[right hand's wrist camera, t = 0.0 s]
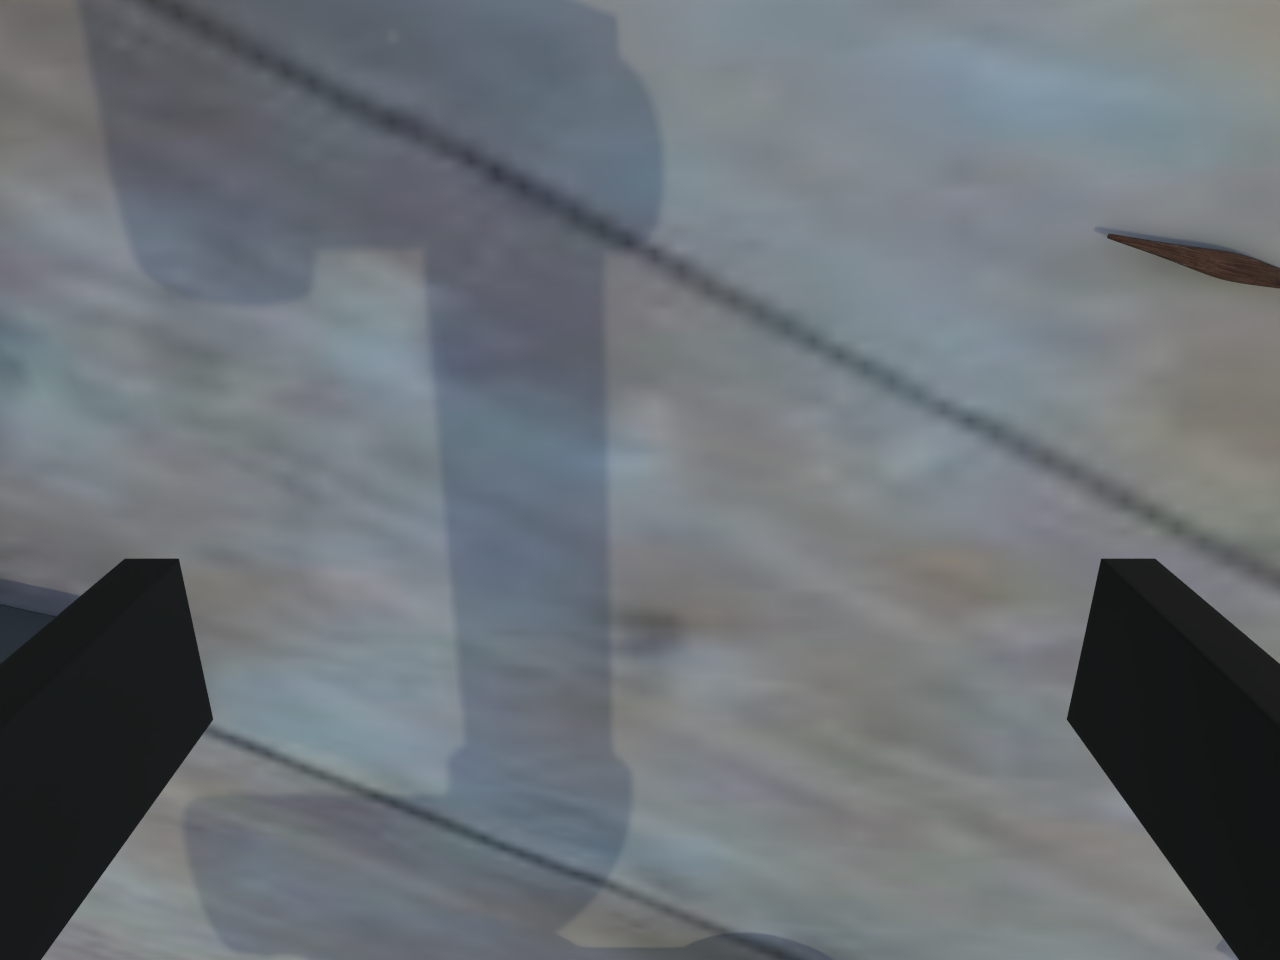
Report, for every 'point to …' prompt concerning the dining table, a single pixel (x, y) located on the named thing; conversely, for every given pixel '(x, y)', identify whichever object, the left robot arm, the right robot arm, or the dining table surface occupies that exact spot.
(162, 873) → the dining table surface
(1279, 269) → the fork
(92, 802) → the right robot arm
